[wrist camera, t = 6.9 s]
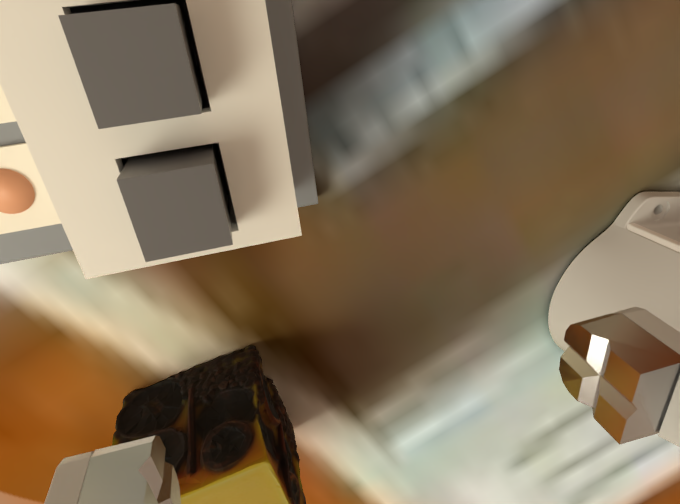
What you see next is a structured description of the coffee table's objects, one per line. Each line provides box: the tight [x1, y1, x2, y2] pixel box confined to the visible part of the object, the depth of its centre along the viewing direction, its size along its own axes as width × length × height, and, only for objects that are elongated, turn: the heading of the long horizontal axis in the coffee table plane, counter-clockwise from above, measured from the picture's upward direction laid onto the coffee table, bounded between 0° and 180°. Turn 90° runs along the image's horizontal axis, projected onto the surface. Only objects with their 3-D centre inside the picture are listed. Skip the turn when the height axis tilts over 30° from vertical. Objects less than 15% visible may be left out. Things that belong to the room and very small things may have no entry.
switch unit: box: [0, 0, 318, 279], centre depth 20 cm, size 20×19×7 cm
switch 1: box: [58, 3, 203, 129], centre depth 18 cm, size 4×4×6 cm
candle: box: [112, 346, 306, 504], centre depth 31 cm, size 10×10×10 cm
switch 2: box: [117, 143, 233, 262], centre depth 21 cm, size 4×4×6 cm
